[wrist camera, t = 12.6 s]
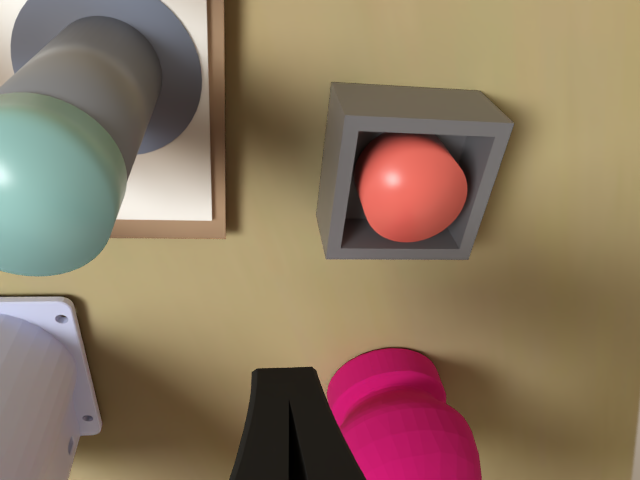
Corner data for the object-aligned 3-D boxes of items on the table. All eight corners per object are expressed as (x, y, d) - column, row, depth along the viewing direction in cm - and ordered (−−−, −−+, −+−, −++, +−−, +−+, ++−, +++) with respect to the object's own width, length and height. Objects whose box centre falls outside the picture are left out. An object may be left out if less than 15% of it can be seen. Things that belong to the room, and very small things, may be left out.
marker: (167, 122, 17) (123, 275, 11) (62, 118, 17) (-51, 276, 10) (159, 17, 15) (99, 127, 9) (40, 10, 15) (-116, 119, 8)
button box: (443, 216, 22) (468, 259, 20) (316, 215, 21) (325, 259, 19) (479, 90, 19) (514, 123, 17) (331, 81, 18) (345, 115, 16)
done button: (436, 213, 21) (452, 242, 19) (348, 211, 20) (357, 241, 18) (459, 128, 18) (479, 154, 17) (361, 124, 18) (373, 150, 16)
